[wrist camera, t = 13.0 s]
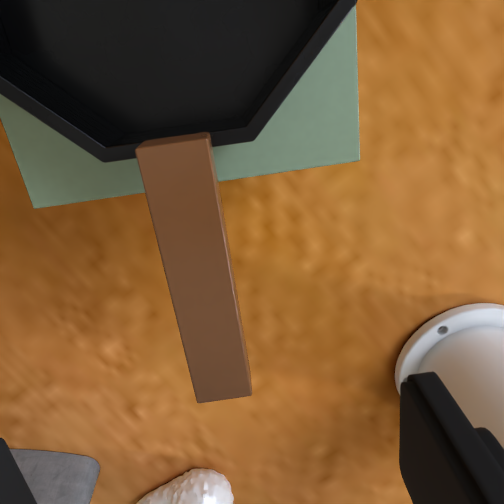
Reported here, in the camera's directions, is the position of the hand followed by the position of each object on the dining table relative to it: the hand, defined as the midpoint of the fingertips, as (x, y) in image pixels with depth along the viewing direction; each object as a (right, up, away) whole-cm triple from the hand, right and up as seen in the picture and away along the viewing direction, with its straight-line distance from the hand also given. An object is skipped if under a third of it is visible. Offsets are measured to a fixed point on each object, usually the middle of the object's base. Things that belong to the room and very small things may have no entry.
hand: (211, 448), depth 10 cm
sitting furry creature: (-5, -19, +31) cm, 37 cm away
